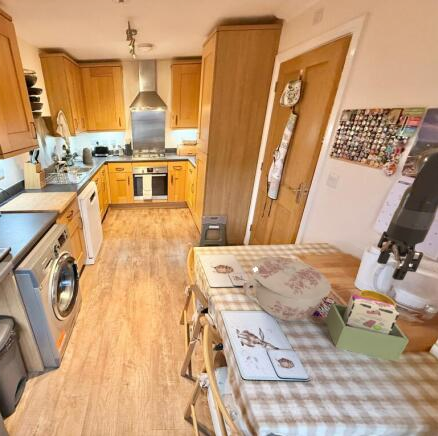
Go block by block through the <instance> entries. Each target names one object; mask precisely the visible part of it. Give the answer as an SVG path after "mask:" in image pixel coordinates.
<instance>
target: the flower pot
mask: <svg viewBox="0 0 438 436" xmlns="http://www.w3.org/2000/svg"><path fill="white" fill-rule="evenodd" d="M357 296H361V297H365V298H369V299H373V300H377V301H381V302H385V303H389V304H393V305H395V308H396V309H397V304H396V302H395V301H394V300H393V299H392V298H391V297H389V296H388V295H386V294H384V293H381V292H378V291H376V290H372V289H362V290H360V291H359V293H358V295H357Z"/></svg>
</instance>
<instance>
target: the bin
mask: <svg viewBox="0 0 438 436" xmlns="http://www.w3.org/2000/svg"><path fill="white" fill-rule="evenodd" d="M347 306H348V305H345V304H340V303H334V302H331V304H330V307H329V309H328V312H327V314H326V317H325V321H324V324H325V326H326V329H327V331H328V333H329V335H330V338H331V340H332V342H333V345H334V347H335V348H336V349H341V350H345V351H349V352H353V353H357V354H362V355H366V356H369V357H373V358H378V359H382V360H386V361H391V362H395V363H397V362H398V361H399V359H400V358H401V356H402V354H403V352H404V351H405V349H406V348H407V345H408V344H409V342H410V340H409V339H408V337H407V336H406V334H405V333H404V332H403V331H402V329H401V328H400V327H399V325H398V324H397V323H396V322H395V324H394V326H393V328H392V331H391V332H390V334H389V335H387V334H383V333H378V332H373V331H368V330H364V329H359V328H354V327H349V326H346V325H345V323H344V321H343V317H344V314H345V311H346V309H347Z"/></svg>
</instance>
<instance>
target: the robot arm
mask: <svg viewBox="0 0 438 436" xmlns="http://www.w3.org/2000/svg"><path fill="white" fill-rule="evenodd" d="M412 167H413V169H414V170H415V171H416V172H417V173H416V176H415V177H414V179H413V181H412V183H411V185H410V186H408V187H406V189H405V190H404V192H403V194H402V196H401V199H400V201H399V204H398V206H397V207H396V208H395V211H394V212H393V215H392V216H391V217H392V218H391V219H390V221H389V224H388V227H387V229H386V231H385V230H383V232H382V234H381V236H380V239H379V241H378V243H377V245H376V246H377V248H378V249H379V255H378V258H377V260H376V263H378V264H380V265H387V264H388V261H389V259H390V257H391V253H392V254H393V259H394V261H396V266H395V267H396V268H395V270H394V271H393V273H392V276H391V278H392V279H393V280H397V281H403V280H404V279H405V277H406V276H407V274H408V272H409V273H411V272H412V273H417V270H418V268H419V266H420V263H421V261H422V259H423V257H424V252H422V251H417V250H416V245H418V244H421V243H424V242H425V240H426V238H427V235H428V233H429V231H430V229H431V227H432V226H433V223H434V221H435V219H436V214H437V212H438V147H436V148H431V149H427V150H424V151H422V152H421V153H419V154H417V155H416V156H415V158H414V159H413V161H412Z"/></svg>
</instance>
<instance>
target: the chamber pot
mask: <svg viewBox="0 0 438 436" xmlns="http://www.w3.org/2000/svg"><path fill="white" fill-rule="evenodd" d="M250 268H251V269H250V270H251V274H252V275H253V277H250V278H248V279H246V280H245V281H244V283H243V286H242V289H243V292H244V294H245V295H246V296H247V297H248V298H250V299H251V300H253V301H255V302H256V304H257V305H258V306H260V307H261V309H263V310H264V311H265V313H268V314H269V315H271V316H272V317H274V318H276V319H279V320H282V321H286V322H298V321H302V320H305V319H307V318H310V317H312V316H313V315H314V314H315V313H316V312H317V310H318V309H319V308H320V306H321V304H322V301H323V298H326V297H327V296H328V295H329V294H330V293H331V289H332V286H331V283H330V281H329V278H327V277H326V276H325V275H324V274H323V273H322V272H321V271H319V270H318V269H316V268H315V267H314V266H312V265H309V264H307V263H305V262H303V261H301V260H297V259H293V258H289V257H285V256H284V257H283V256H265V257H261V258H258V259H256V260H254V261H253V263H252V264H251V266H250ZM250 286H252V293H250V292H249V289H250V288H251V287H250Z"/></svg>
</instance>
